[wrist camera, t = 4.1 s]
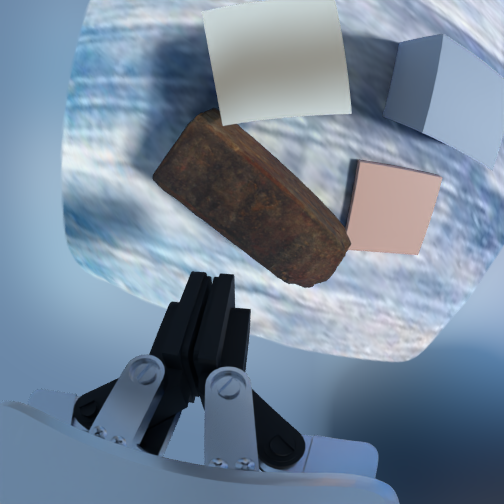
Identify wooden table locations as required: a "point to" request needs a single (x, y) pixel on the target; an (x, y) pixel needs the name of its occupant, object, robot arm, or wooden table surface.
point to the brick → (253, 201)
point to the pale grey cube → (277, 60)
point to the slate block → (448, 96)
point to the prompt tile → (390, 208)
